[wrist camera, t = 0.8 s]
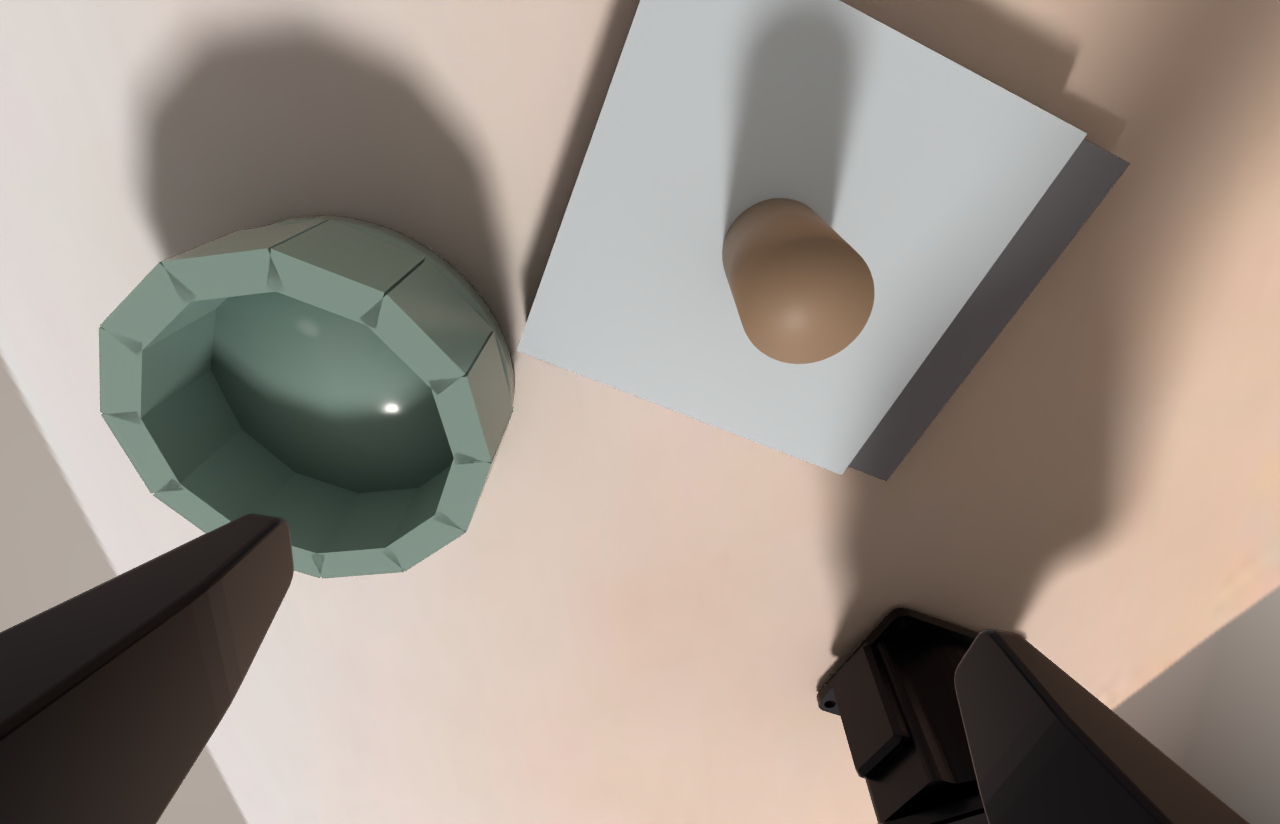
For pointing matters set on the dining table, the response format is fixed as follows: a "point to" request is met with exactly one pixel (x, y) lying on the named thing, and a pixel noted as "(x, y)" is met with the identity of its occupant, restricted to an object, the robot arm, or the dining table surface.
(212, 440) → the bowl
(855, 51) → the lid
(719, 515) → the dining table surface
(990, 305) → the mat
